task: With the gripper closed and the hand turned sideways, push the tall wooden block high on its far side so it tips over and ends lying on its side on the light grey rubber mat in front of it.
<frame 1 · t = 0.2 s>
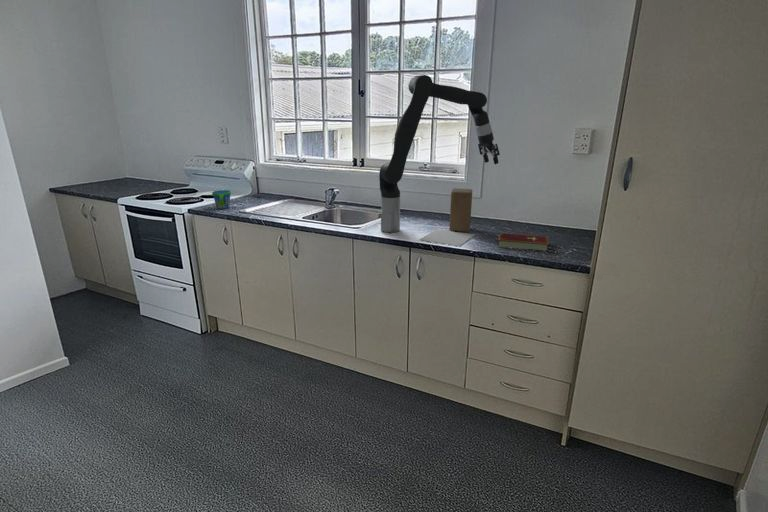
hand: (491, 162, 237), 31 cm above the worktop, tool tilted 20°, fingers open, 8 cm apart
hardcover book: (522, 247, 204), on the worktop
wooden block: (459, 229, 229), on the worktop
snack cup: (223, 208, 276), on the worktop
grey mat: (447, 237, 215), on the worktop
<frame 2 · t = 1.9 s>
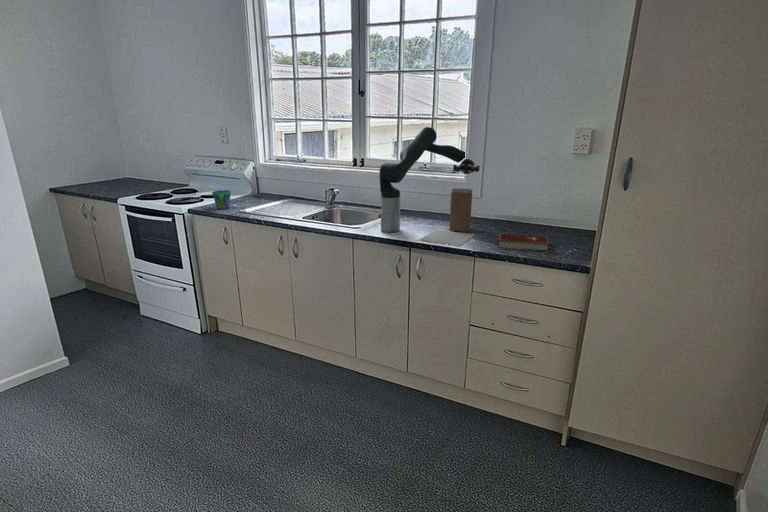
hand: (464, 170, 231), 28 cm above the worktop, tool horizontal, fingers open, 6 cm apart
nothing on the worktop moved.
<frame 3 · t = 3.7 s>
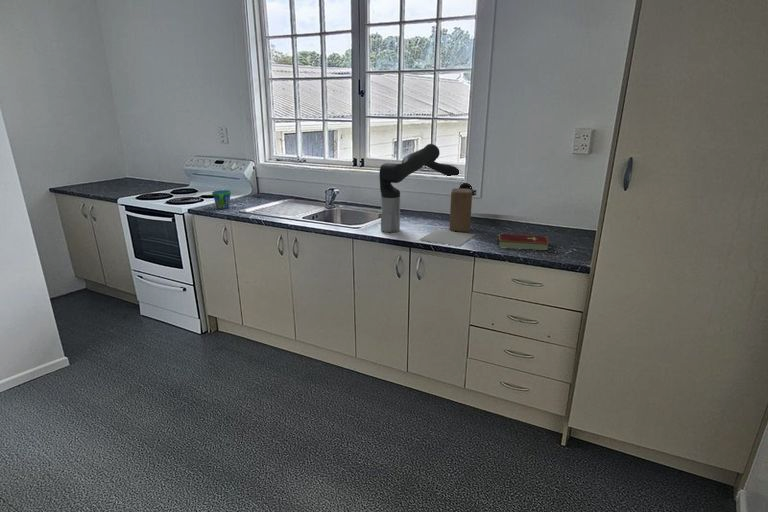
hand: (463, 195, 234), 15 cm above the worktop, tool horizontal, fingers closed
nothing on the worktop moved.
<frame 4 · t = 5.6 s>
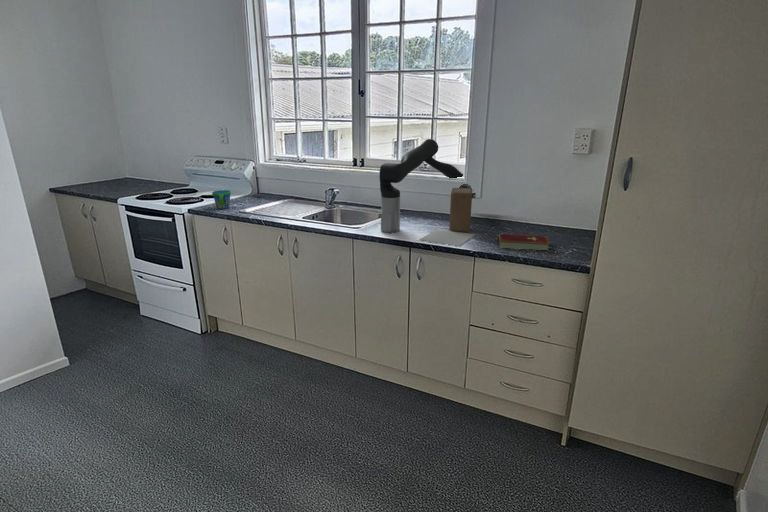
hand: (462, 198, 228), 15 cm above the worktop, tool horizontal, fingers closed
wooden block: (459, 229, 229), on the worktop, touching gripper
everything else where it was.
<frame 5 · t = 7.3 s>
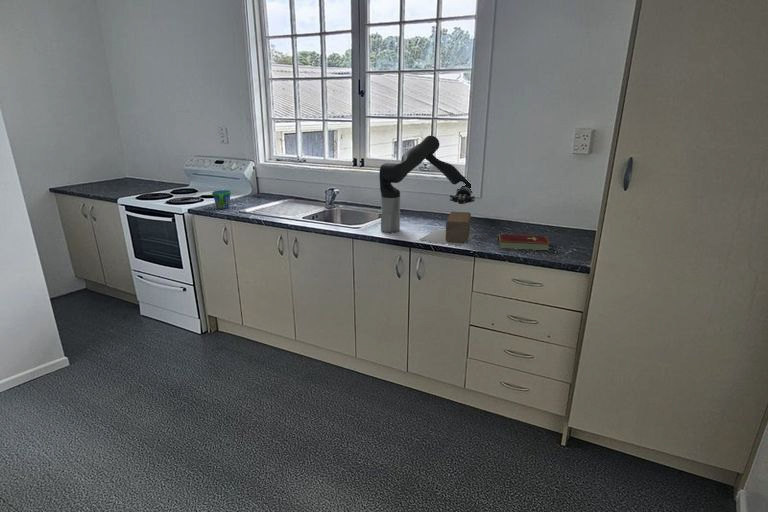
hand: (460, 202, 220), 15 cm above the worktop, tool horizontal, fingers closed
wooden block: (460, 221, 223), point 5 cm above the worktop, touching grey mat
everything else where it was.
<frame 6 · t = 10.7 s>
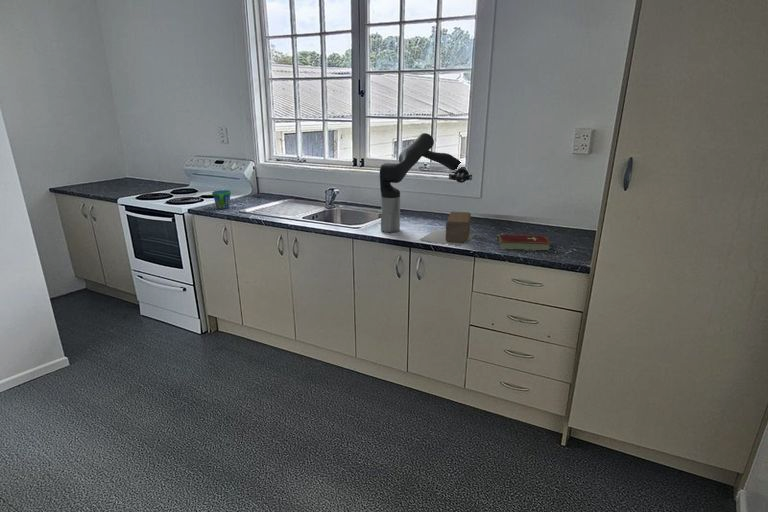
hand: (458, 179, 233), 23 cm above the worktop, tool horizontal, fingers closed
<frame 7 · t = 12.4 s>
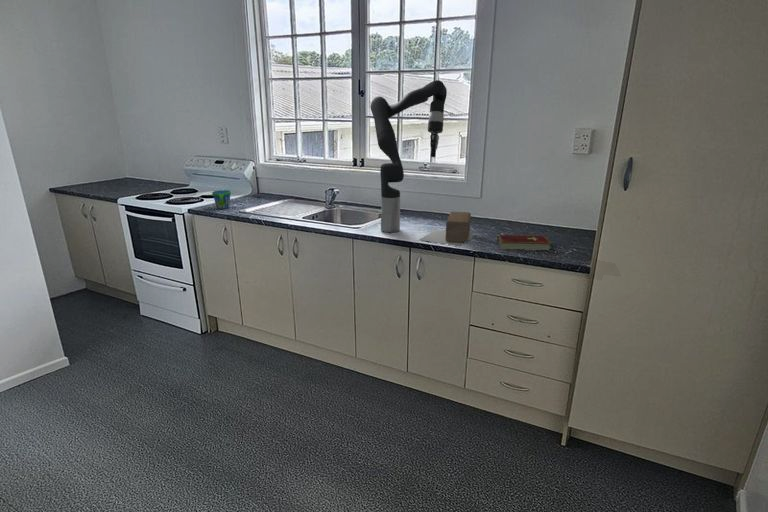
hand: (433, 156, 228), 35 cm above the worktop, tool tilted 20°, fingers closed
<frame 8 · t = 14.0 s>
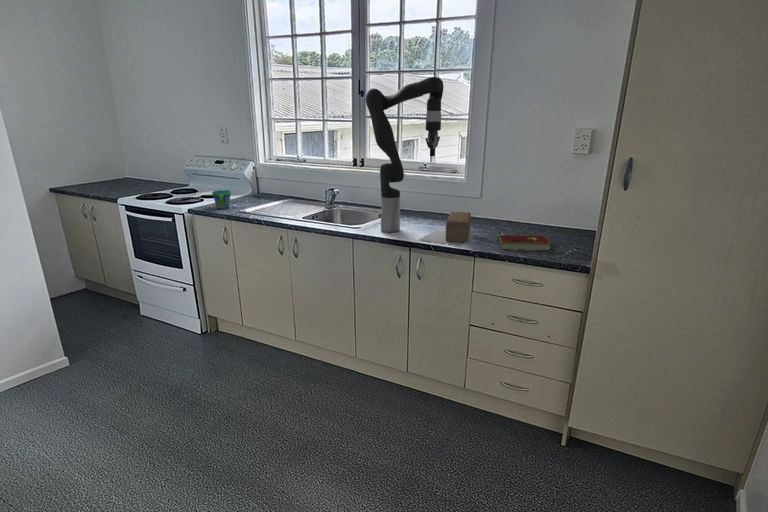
hand: (432, 156, 229), 35 cm above the worktop, tool pointing down, fingers closed
at the end: wooden block tilted 90°; wooden block touching grey mat; wooden block inside the target area (6.7 cm from its centre), point 5.4 cm above the worktop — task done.
